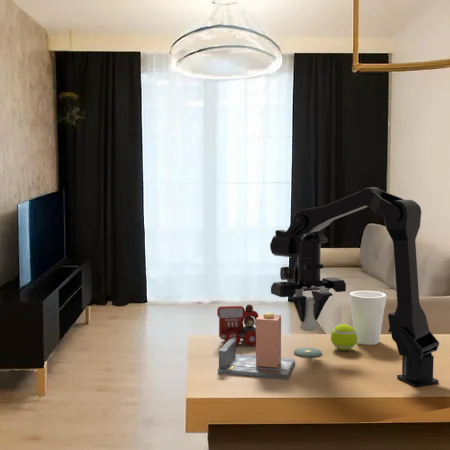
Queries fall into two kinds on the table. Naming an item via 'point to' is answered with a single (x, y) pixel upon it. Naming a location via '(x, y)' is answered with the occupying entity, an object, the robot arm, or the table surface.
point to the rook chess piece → (309, 316)
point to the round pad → (308, 352)
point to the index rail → (250, 364)
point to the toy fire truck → (237, 324)
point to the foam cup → (367, 315)
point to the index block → (268, 340)
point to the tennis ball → (344, 337)
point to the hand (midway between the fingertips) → (308, 320)
